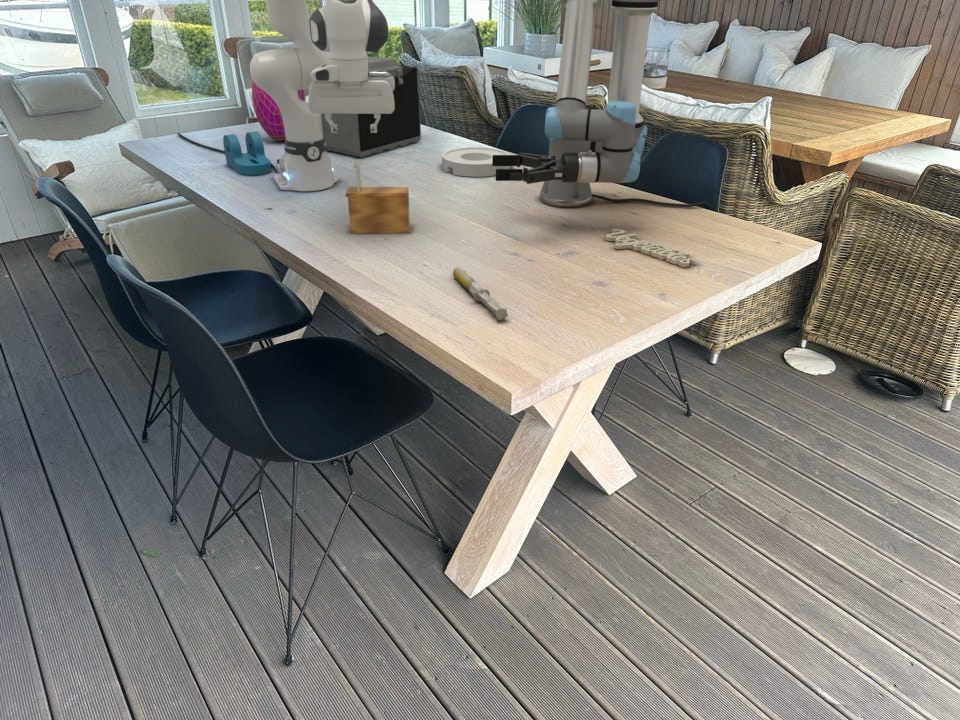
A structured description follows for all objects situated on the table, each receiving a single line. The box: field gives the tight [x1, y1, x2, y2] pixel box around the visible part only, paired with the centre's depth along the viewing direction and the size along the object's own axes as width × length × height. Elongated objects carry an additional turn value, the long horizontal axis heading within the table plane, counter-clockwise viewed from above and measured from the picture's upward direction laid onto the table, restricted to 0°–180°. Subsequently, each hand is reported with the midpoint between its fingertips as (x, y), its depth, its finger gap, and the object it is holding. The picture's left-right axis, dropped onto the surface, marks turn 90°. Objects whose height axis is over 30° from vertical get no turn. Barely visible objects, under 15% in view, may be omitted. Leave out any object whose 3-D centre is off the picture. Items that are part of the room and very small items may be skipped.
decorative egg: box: [251, 78, 307, 142], centre depth 257 cm, size 19×19×30 cm
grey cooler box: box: [321, 56, 422, 159], centre depth 250 cm, size 37×22×30 cm, turn 144°
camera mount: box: [222, 131, 272, 176], centre depth 226 cm, size 18×10×10 cm, turn 35°
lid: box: [345, 159, 409, 198], centre depth 173 cm, size 16×5×8 cm, turn 93°
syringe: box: [452, 266, 509, 321], centre depth 145 cm, size 25×4×3 cm, turn 21°
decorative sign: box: [605, 228, 696, 268], centre depth 169 cm, size 26×1×10 cm
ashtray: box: [441, 146, 511, 178], centre depth 232 cm, size 23×23×4 cm
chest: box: [347, 191, 411, 234], centre depth 178 cm, size 15×5×10 cm, turn 93°
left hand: (354, 132), depth 167 cm, fingers open, 8 cm apart
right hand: (493, 167), depth 173 cm, fingers open, 13 cm apart
